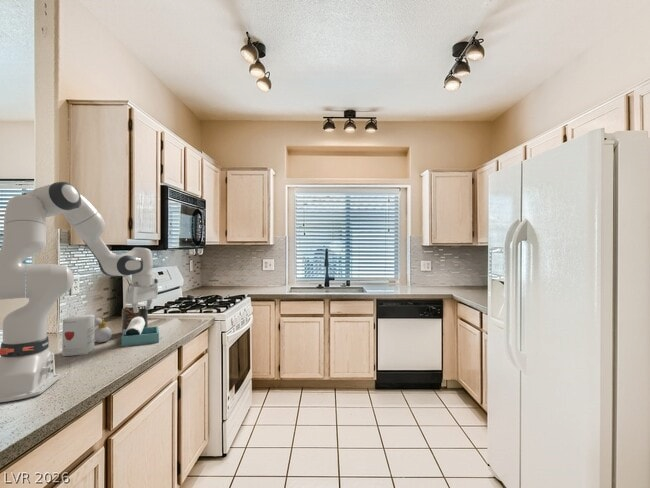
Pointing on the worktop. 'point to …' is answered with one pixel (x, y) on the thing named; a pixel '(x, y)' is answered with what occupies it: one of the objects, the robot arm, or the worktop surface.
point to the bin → (142, 337)
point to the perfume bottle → (101, 331)
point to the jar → (133, 314)
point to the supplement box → (78, 335)
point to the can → (135, 326)
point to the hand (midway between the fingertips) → (142, 310)
